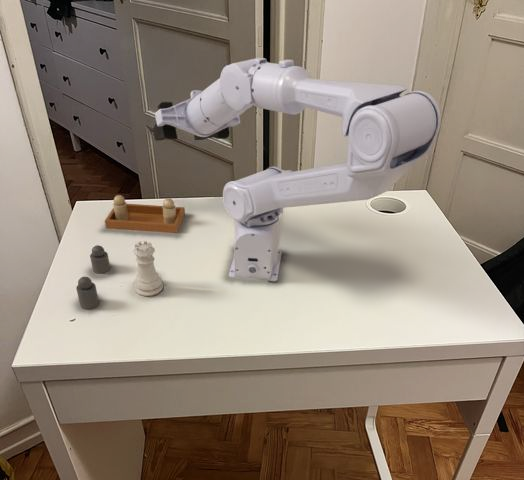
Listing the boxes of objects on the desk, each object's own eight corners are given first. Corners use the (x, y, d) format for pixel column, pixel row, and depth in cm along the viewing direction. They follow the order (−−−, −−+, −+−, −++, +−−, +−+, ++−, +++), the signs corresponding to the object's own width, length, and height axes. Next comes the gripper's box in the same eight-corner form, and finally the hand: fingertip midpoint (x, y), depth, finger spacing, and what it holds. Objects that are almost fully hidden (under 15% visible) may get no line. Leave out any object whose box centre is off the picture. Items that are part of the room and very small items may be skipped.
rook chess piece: (167, 293, 89) (162, 248, 84) (140, 300, 88) (133, 255, 82) (158, 278, 92) (152, 235, 87) (131, 285, 91) (124, 241, 85)
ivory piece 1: (126, 223, 105) (123, 198, 102) (114, 222, 105) (110, 198, 102) (130, 216, 107) (126, 193, 104) (118, 216, 107) (114, 192, 104)
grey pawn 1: (95, 310, 86) (89, 283, 82) (77, 308, 86) (71, 282, 83) (101, 299, 88) (96, 273, 84) (84, 298, 88) (78, 271, 85)
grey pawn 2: (107, 276, 92) (102, 251, 89) (91, 275, 93) (85, 250, 89) (113, 267, 94) (108, 242, 91) (96, 266, 95) (91, 241, 92)
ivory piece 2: (175, 226, 105) (173, 202, 101) (162, 225, 105) (160, 201, 102) (178, 220, 106) (176, 196, 103) (165, 219, 106) (163, 195, 103)
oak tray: (177, 235, 103) (176, 225, 102) (106, 230, 104) (104, 220, 103) (185, 216, 108) (184, 207, 107) (118, 212, 109) (116, 202, 108)
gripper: (250, 81, 90) (207, 111, 101) (168, 76, 82) (132, 109, 93) (257, 127, 91) (215, 151, 102) (178, 126, 83) (141, 153, 94)
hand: (176, 134), depth 97 cm, fingers open, 7 cm apart
